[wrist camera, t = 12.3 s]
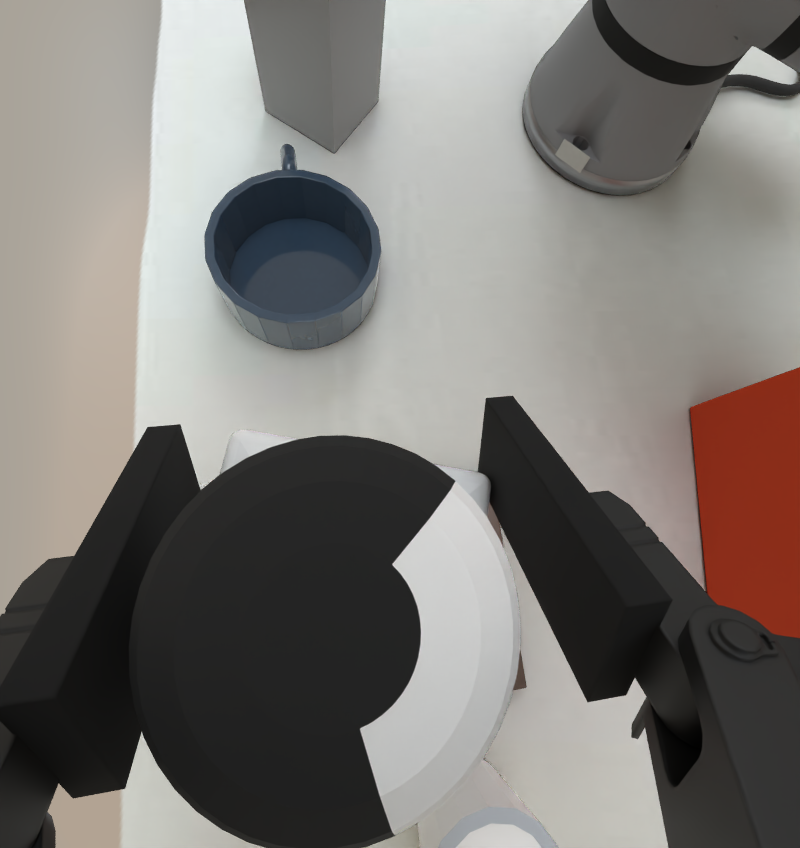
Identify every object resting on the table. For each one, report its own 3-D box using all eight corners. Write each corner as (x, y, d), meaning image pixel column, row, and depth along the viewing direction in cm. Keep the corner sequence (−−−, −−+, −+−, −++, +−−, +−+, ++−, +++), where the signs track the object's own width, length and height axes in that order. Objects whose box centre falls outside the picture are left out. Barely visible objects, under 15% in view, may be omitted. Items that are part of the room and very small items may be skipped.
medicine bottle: (228, 651, 17) (-36, 917, 5) (272, 463, 19) (149, 351, 7) (416, 679, 17) (556, 979, 6) (442, 494, 19) (590, 436, 7)
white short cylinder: (386, 782, 28) (398, 864, 21) (481, 719, 29) (523, 776, 22) (440, 899, 26) (472, 1026, 20) (536, 827, 28) (597, 923, 21)
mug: (384, 344, 34) (389, 316, 30) (226, 355, 32) (207, 328, 28) (364, 181, 37) (366, 135, 33) (218, 184, 35) (200, 136, 31)
